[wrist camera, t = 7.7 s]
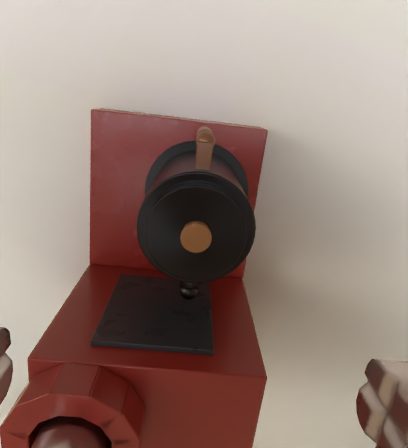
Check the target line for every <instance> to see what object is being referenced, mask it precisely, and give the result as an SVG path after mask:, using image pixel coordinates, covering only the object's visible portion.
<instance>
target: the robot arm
mask: <svg viewBox="0 0 408 448" xmlns="http://www.w3.org/2000/svg"><path fill="white" fill-rule="evenodd" d="M10 344H11V341H10V332H9V330H7V329H6V328H4V327H0V404H1V403H2V401H3V400H4V398H5V396H6V394H7V392H8V389H9V386H10V383H11V380H12V372H13V366H12V360H11V359H10V358H9V356H8V355H7V354H6V353H5V351H6V350H7V348H8V347H9V346H10ZM365 375H366V377H367V379H368V382H367V383H366V384H364V385H363V386H362V387H361V388H360V389H359V392H358V396H357V399H356V405H357V415H358V419H359V423H360V425H361V427H362V429H363V431H364V433H365V434H366V435H367V436H368V437H369V438H371V439H372V440H373V441H374V442H375V443H376V447H375V448H408V362H404V361H391V360H379V359H372V360H371V361H370V362H369V363H368V365H367V368H366V371H365Z"/></svg>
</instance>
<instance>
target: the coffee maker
mask: <svg viewBox="0 0 408 448" xmlns="http://www.w3.org/2000/svg"><path fill="white" fill-rule="evenodd" d="M120 274H130V275H141V276H152V277H162V278H170V277H168V276H166V275H165V274H163V273H161V272H160V271H159V270H151V269H140V268H130V267H119V266H109V265H98V264H90V265H89V267H88V268H87V270H86V271H85V273H84V274H83V276H82V277H81V279H80V280H79V282H78V283H77V285H76V286H75V288H74V289H73V291H72V292H71V294H70V295H69V297H68V298H67V300H66V301H65V303H64V304H63V306H62V307H61V309H60V310H59V312H58V313H57V315H56V316H55V318H54V319H53V321H52V322H51V324H50V325H49V327H48V328H47V330H46V331H45V333H44V334H43V336H42V337H41V339H40V340H39V342H38V343H37V345H36V346H35V348H34V349H33V351H32V352H31V354H30V355H29V357H28V373H29V383H28V385H27V386H26V387H25V389H24V390H23V391H22V393H21V394H20V396H19V397H18V399H17V400H16V402H15V404H14V405H13V407H12V409H11V410H10V412H9V414H8V415H7V417H6V419H5V420H4V422H3V423H2V425H1V427H0V437H1V447H2V448H31V447H32V445H33V443H34V441H35V439H36V437H37V435H38V432H39V430H40V429H41V427H42V426H43V425H44V424H45V423H46V422H47V421H48V420H50V419H52V418H54V417H57V416H67V417H81V418H84V419H86V420H87V421H89V422H91V423H93V424H95V425H97V426H99V427H100V428H101V429H102V430H103V432H104V434H105V436H106V440H107V446H106V448H252V446H253V441H254V436H255V432H256V427H257V422H258V418H259V413H260V408H261V404H262V399H263V394H264V390H265V385H266V380H267V376H266V372H265V368H264V364H263V360H262V356H261V351H260V347H259V343H258V339H257V335H256V331H255V327H254V323H253V319H252V315H251V311H250V307H249V303H248V299H247V295H246V291H245V287H244V283H243V279H242V278H235V277H222V278H220V279H217V280H214V281H210V295H211V311H212V327H213V343H214V354H213V355H203V354H191V353H179V352H167V351H155V350H143V349H131V348H119V347H107V346H95V345H91V339H92V337H93V334H94V332H95V330H96V328H97V326H98V323H99V321H100V319H101V317H102V314H103V312H104V310H105V308H106V306H107V303H108V301H109V299H110V297H111V294H112V292H113V290H114V288H115V286H116V283H117V281H118V279H119V277H120Z"/></svg>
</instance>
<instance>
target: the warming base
mask: <svg viewBox="0 0 408 448" xmlns="http://www.w3.org/2000/svg"><path fill="white" fill-rule="evenodd" d="M204 126H205V127H208V128H210V129H211V131H212V133H213V135H214V138H215V145H214V147H213V150H212V154H215V155H217V156H219V157H220V158H222V159H223V160H224V161H225V162H227V163H228V164H229V166H230V167H231V168H232V170H233V171H234V173H235V175H236V177H237V179H238V181H239V183H240V185H241V187H242V189H243V191H244V193H245V195H246V197H247V199H248V201H249V203H250V205H251V207H252V209H253V213H254V208H255V202H256V197H257V191H258V185H259V179H260V173H261V167H262V161H263V155H264V149H265V143H266V137H267V130H266V129H264V128H261V127H255V126H247V125H238V124H230V123H221V122H213V121H204V120H196V119H187V118H179V117H170V116H162V115H153V114H145V113H136V112H128V111H119V110H111V109H92V110H91V182H90V264H98V265H109V266H119V267H130V268H140V269H151V270H157V269H156V268H155V267H154V266H153V265H152V264H151V263H150V262H149V261H148V259H147V258H146V256H145V255H144V253H143V251H142V249H141V247H140V245H139V241H138V237H137V226H136V224H137V216H138V213H139V209H140V207H141V204H142V202H143V200H144V199H145V197H146V195H147V193H148V191H149V190H150V188H151V186H152V184H153V182H154V180H155V179H156V177H157V175H158V173H159V172H160V170H161V168H162V167H163V166H164V165H165V164H166V163H167V162H168V161H169V160H170V159H172V158H173V157H175V156H177V155H178V154H181V153H184V152H188V151H196V148H197V145H196V133H197V130H198V129H199V128H200V127H204ZM245 262H246V258H245V259H244V261H243V262H242V263H241V264H240V265H239V266H238V267H237V268H236V269H235V270H234V271H232V272H231V273H229V274H228V275H226V276H224V277H235V278H243V274H244V268H245ZM179 288H180V281H178V280H175V279H173V278H162V277H152V276H141V275H130V274H120V277H119V279H118V281H117V283H116V286H115V288H114V290H113V292H112V294H111V297H110V299H109V301H108V303H107V306H106V308H105V310H104V312H103V314H102V317H101V319H100V321H99V323H98V326H97V328H96V330H95V332H94V334H93V337H92V339H91V345H95V346H107V347H119V348H131V349H143V350H155V351H167V352H179V353H191V354H203V355H213V354H214V343H213V327H212V311H211V295H210V282H205V283H199V286H198V294H197V296H196V297H195V298H194V299H191V300H186V299H184V298H182V297H181V295H180V292H179Z"/></svg>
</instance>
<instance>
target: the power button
mask: <svg viewBox="0 0 408 448" xmlns="http://www.w3.org/2000/svg"><path fill="white" fill-rule="evenodd" d="M106 446H107V440H106V436H105V434H104V432H103V430H102V429H101V428H100V427H99V426H97V425H95V424H93V423H91V422H89V421H87V420H86V419H84V418H81V417H67V416H57V417H54V418H52V419H50V420H48V421H47V422H46V423H45V424H44V425H43V426H42V427H41V429H40V430H39V432H38V435H37V437H36V439H35V441H34V443H33V445H32V447H31V448H106Z"/></svg>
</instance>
